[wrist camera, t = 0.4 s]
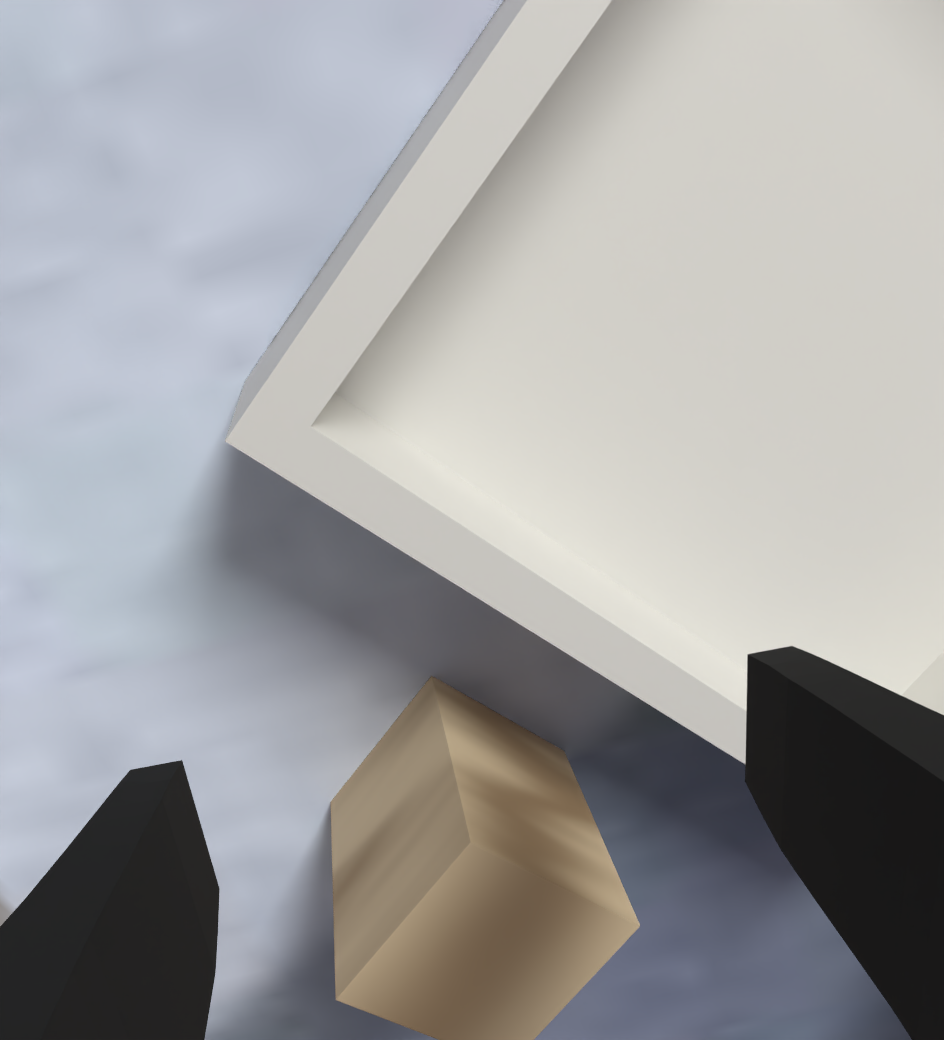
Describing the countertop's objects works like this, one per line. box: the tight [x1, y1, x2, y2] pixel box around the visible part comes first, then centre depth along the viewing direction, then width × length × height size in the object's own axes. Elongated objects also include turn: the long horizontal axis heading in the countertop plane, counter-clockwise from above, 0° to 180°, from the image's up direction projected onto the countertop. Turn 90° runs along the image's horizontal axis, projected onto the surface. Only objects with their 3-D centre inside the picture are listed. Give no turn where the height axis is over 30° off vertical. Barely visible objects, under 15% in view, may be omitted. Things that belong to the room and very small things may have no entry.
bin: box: [225, 0, 944, 765], centre depth 18 cm, size 20×20×4 cm
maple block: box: [331, 676, 640, 1040], centre depth 20 cm, size 4×4×6 cm
